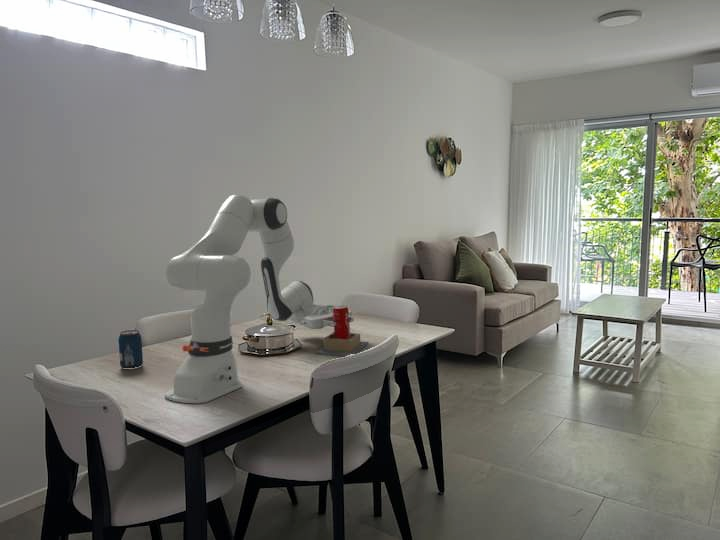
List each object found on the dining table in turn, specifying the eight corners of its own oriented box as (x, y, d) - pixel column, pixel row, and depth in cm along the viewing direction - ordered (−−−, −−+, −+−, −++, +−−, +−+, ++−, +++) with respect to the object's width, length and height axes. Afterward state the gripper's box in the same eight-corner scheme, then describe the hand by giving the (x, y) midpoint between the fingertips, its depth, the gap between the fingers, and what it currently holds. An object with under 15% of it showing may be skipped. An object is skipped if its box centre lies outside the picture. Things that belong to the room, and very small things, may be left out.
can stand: (351, 357, 184) (351, 343, 183) (314, 354, 188) (314, 340, 188) (368, 344, 200) (367, 331, 200) (333, 341, 205) (333, 329, 204)
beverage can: (349, 349, 191) (348, 308, 189) (331, 348, 192) (331, 308, 190) (352, 344, 197) (351, 305, 195) (335, 344, 198) (334, 304, 196)
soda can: (138, 363, 180) (135, 328, 179) (146, 367, 175) (144, 332, 174) (117, 367, 175) (114, 332, 174) (125, 372, 171) (122, 336, 169)
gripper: (296, 312, 194) (322, 318, 185) (336, 304, 209) (362, 309, 199) (297, 329, 195) (322, 335, 185) (336, 320, 210) (362, 325, 200)
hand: (343, 321), depth 192 cm, fingers open, 8 cm apart
